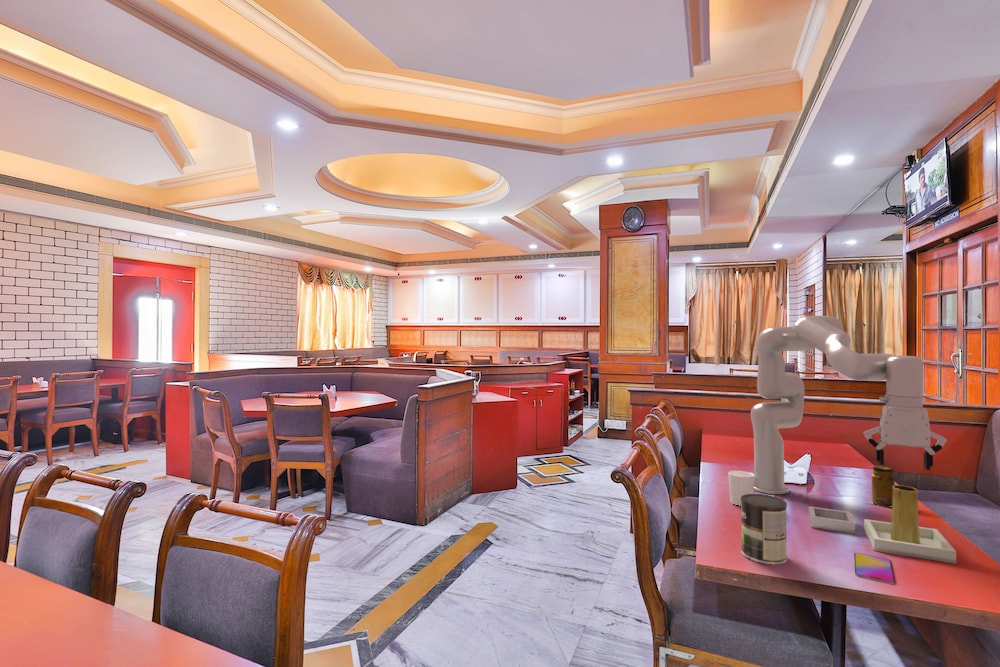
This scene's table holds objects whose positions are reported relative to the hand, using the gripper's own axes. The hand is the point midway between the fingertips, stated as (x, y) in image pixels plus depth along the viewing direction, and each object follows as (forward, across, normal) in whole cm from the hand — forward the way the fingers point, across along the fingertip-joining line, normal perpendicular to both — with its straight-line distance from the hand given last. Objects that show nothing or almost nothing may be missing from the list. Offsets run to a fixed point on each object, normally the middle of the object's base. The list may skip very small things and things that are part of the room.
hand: (903, 466), depth 131 cm
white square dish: (+21, -15, +7) cm, 27 cm away
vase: (+20, 0, -1) cm, 20 cm away
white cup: (+22, -39, +15) cm, 48 cm away
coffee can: (+21, -32, -26) cm, 46 cm away
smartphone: (+21, -9, -21) cm, 31 cm away
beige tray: (+21, +1, -1) cm, 21 cm away
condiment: (+22, +3, +37) cm, 43 cm away
